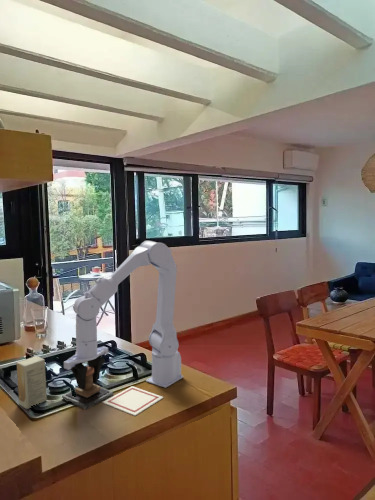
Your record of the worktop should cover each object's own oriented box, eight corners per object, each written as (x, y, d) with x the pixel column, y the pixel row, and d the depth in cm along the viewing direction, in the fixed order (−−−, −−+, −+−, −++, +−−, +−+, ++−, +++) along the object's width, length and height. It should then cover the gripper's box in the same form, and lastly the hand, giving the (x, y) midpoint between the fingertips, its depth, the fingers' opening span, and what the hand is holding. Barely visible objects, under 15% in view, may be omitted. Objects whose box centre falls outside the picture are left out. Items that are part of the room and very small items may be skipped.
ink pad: (89, 386, 118) (89, 382, 118) (113, 395, 113) (113, 391, 113) (62, 399, 110) (62, 395, 110) (86, 409, 105) (86, 405, 104)
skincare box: (39, 396, 112) (37, 355, 111) (47, 400, 109) (46, 358, 108) (17, 404, 107) (15, 361, 106) (25, 409, 104) (23, 365, 103)
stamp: (88, 386, 115) (87, 364, 114) (100, 391, 112) (99, 368, 111) (75, 393, 111) (73, 370, 110) (87, 398, 108) (86, 374, 107)
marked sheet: (132, 386, 118) (132, 385, 118) (163, 397, 111) (163, 396, 111) (102, 403, 108) (102, 401, 108) (135, 416, 101) (135, 414, 101)
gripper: (96, 330, 118) (97, 373, 119) (55, 343, 106) (57, 391, 107) (113, 334, 114) (113, 379, 115) (73, 348, 102) (74, 398, 103)
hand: (87, 385), depth 111 cm, fingers closed on stamp, 4 cm apart
